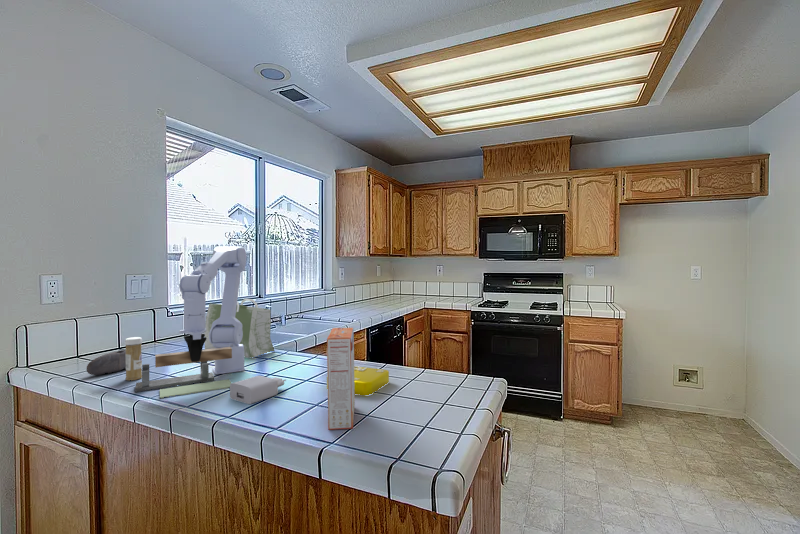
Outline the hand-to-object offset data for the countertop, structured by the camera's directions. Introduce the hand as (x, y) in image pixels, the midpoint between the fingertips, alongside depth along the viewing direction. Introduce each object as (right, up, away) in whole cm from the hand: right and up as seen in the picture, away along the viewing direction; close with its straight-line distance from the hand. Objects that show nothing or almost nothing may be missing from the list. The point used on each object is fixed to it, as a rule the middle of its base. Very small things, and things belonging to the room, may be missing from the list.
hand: (195, 359), depth 115 cm
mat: (0, -9, 0) cm, 9 cm away
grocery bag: (-9, -9, +53) cm, 54 cm away
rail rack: (-9, -9, +6) cm, 14 cm away
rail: (0, 0, 0) cm, 0 cm away
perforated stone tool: (-39, -9, +19) cm, 44 cm away
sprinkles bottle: (-26, -9, +11) cm, 29 cm away
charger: (+22, -9, -4) cm, 24 cm away
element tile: (+49, -9, +3) cm, 50 cm away
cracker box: (+47, -9, -22) cm, 53 cm away
